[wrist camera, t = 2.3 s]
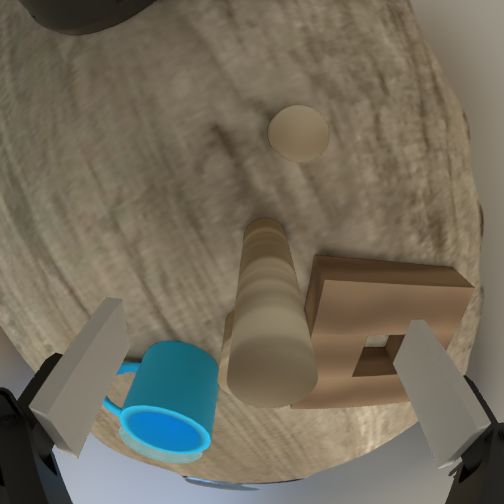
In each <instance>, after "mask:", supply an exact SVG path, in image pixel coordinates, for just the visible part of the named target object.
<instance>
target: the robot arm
mask: <svg viewBox="0 0 504 504" xmlns="http://www.w3.org/2000/svg"><path fill="white" fill-rule="evenodd" d="M18 1H19V2H20V3H21V4H22V5H23V6H24V7H25V8H26V9H27V10H28V11H29V13H30V15H31V16H32V17H33V19H34V20H35V21H36V22H37V23H38V24H40V25H41V26H43V27H45V28H47V29H50V30H53V31H56V32H59V33H62V34H68V35H82V34H88V33H93V32H96V31H100V30H103V29H106V28H108V27H111V26H113V25H115V24H117V23H120V22H122V21H124V20H125V19H127V18H129V17H131V16H133V15H134V14H136V13H137V12H139V11H141V10H142V9H144V8H145V7H147V6H148V5H149V4H151V3H152V2H153V1H155V0H18ZM129 349H130V343H129V337H128V332H127V327H126V321H125V315H124V309H123V303H122V299H117V298H110V297H107V298H106V299H105V300H104V301H103V303H102V304H101V305H100V307H99V308H98V309H97V310H96V312H95V313H94V314H93V315H92V317H91V318H90V319H89V321H88V322H87V323H86V325H85V326H84V327H83V329H82V330H81V331H80V333H79V334H78V335H77V337H76V338H75V339H74V341H73V342H72V343H71V345H70V346H69V348H68V349H67V350H66V352H65V353H64V355H62V354H59V353H55V354H53V355H52V356H50V357H49V358H47V359H46V360H45V362H44V363H43V364H42V366H41V367H40V370H38V371H37V373H36V374H35V375H34V376H35V377H33V378H32V380H31V381H30V383H29V384H28V386H27V387H26V388H25V390H24V391H23V393H22V394H21V396H20V397H19V399H18V400H16V399H15V397H14V395H13V394H12V393H11V392H10V391H9V390H8V389H6V388H2V387H1V388H0V504H73V503H72V501H71V498H70V496H69V494H68V491H67V489H66V486H65V484H64V481H63V479H62V476H61V473H60V471H59V468H58V465H57V462H56V459H55V456H54V454H53V452H52V448H53V446H54V444H55V445H56V446H57V448H58V449H59V450H60V452H63V453H65V454H68V455H70V456H72V457H75V458H78V457H79V454H80V452H81V450H82V448H83V445H84V443H85V441H86V438H87V436H88V434H89V432H90V429H91V427H92V425H93V423H94V421H95V418H96V416H97V414H98V412H99V410H100V408H101V405H102V403H103V401H104V399H105V397H106V395H107V393H108V391H109V389H110V387H111V385H112V382H113V380H114V378H115V376H116V374H117V372H118V370H119V368H120V366H121V364H122V362H123V360H124V358H125V357H126V355H127V353H128V351H129ZM393 365H394V367H395V369H396V372H397V374H398V376H399V378H400V380H401V382H402V384H403V386H404V389H405V391H406V393H407V395H408V397H409V399H410V402H411V404H412V406H413V408H414V411H415V413H416V415H417V418H418V420H419V422H420V424H421V427H422V429H423V432H424V434H425V436H426V439H427V441H428V444H429V446H430V449H431V451H432V454H433V456H434V459H435V462H436V464H437V467H438V469H439V468H442V467H445V466H448V465H451V464H453V463H454V462H455V461H456V460H457V459H458V458H459V457H460V456H461V458H462V460H463V461H462V462H461V463H460V464H459V465H457V467H455V468H454V469H453V470H452V471H451V472H450V474H449V476H451V475H452V474H453V473H455V472H456V471H457V472H456V475H455V476H454V481H453V484H452V487H451V490H450V492H449V495H448V498H447V500H446V503H445V504H504V423H498V422H497V420H496V418H495V417H494V415H493V413H492V411H491V410H490V408H489V406H488V405H487V403H486V401H485V400H484V399H483V397H482V395H481V394H480V392H479V390H478V389H477V387H476V386H475V384H474V382H473V381H471V380H470V379H469V378H468V377H467V376H466V375H464V376H463V375H462V374H461V372H460V371H459V369H458V368H457V366H456V365H455V363H454V362H453V360H452V359H451V357H450V356H449V354H448V353H447V351H446V350H445V349H444V347H443V346H442V344H441V343H440V341H439V340H438V339H437V337H436V336H435V334H434V333H433V332H432V330H431V329H430V327H429V326H428V325H427V323H426V322H425V321H424V320H411V323H410V325H409V328H408V330H407V332H406V335H405V337H404V339H403V342H402V344H401V346H400V349H399V351H398V353H397V355H396V357H395V360H394V362H393Z"/></svg>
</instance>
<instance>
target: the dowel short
mask: <svg viewBox="0 0 504 504" xmlns="http://www.w3.org/2000/svg"><path fill="white" fill-rule="evenodd" d="M267 136H268V140H269V142H270V144H271V145H272V147H273V148H274V149H275V150H276V151H277V152H278V153H279V154H280V155H281V156H282V157H284V158H285V159H287V160H289V161H292V162H297V163H304V162H309V161H312V160H314V159H316V158H317V157H319V156H320V155H321V154H322V153H323V152H324V150H325V149H326V147H327V145H328V141H329V128H328V125H327V122H326V121H325V119H324V117H323V116H322V115H321V114H320V113H319V112H318V111H316V110H315V109H313V108H311V107H308V106H304V105H294V106H290V107H287V108H285V109H283V110H282V111H280V112H279V113H278V114H277V115H276V116H275V117H273V119H272V120H271V121H270V123H269V125H268V129H267Z"/></svg>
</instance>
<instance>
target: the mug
mask: <svg viewBox="0 0 504 504" xmlns="http://www.w3.org/2000/svg"><path fill="white" fill-rule="evenodd" d="M218 371H219V368H218V366H217V364H216V363H215V361H214V359H213V358H212V357H210V356H209V355H208V354H207V353H206V352H205V351H203V350H201V349H199V348H197V347H196V346H194V345H191V344H187V343H184V342H179V341H165V342H160V343H156V344H155V345H153V346H151V347H150V348H149V349H148V350H147V352H146V353H145V355H144V357H143V359H142V362H141V363H122V364H121V366H120V368H119V370H118V372H117V374H116V375H119V374H123V373H126V372H137V373H136V376H135V378H134V380H133V383H132V385H131V388H130V390H129V392H128V395H127V397H126V400H125V402H124V405H123V407H122V408H120V407H118V406H117V405H115V404H114V403H112V402H111V401H110V400H109V398H108V397H107V396H106V397H105V399H104V401H103V405H104V406H105V407H106V408H107V409H108V410H110V411H111V412H112V413H114V414H115V415H116V416H119V417H120V423H121V425H122V427H123V428H124V430H125V431H126V432H127V433H128V434H129V435H131V436H132V437H133V438H134V439H136V440H138V441H139V442H141V443H142V444H144V445H147V446H149V447H151V448H153V449H156V450H160V451H163V452H167V453H174V454H194V453H198V452H202V451H203V450H205V449H206V448H208V447H209V445H210V442H211V438H212V430H213V423H214V415H215V408H216V400H217V393H218V386H219V385H218V382H217V377H218Z"/></svg>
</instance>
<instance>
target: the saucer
mask: <svg viewBox="0 0 504 504" xmlns="http://www.w3.org/2000/svg"><path fill="white" fill-rule="evenodd" d="M119 434H120V437H121V439H122V440H123V441H124V442H125V443H126V444H127V445H128V446H129V447H131V448H132V449H133V450H135V451H137V452H139V453H141V454H143V455H145V456H147V457H150V458H153V459H156V460H160V461H164V462H170V463H189V462H193V461H195V460H197V459H199V458H200V457H201V456H202V453H203V451H202V452H198V453H194V454H174V453H167V452H163V451H160V450H156V449H153V448H151V447H149V446H147V445H144V444H142V443H141V442H139V441H138V440H136V439H134V438H133V437H132V436H131V435H129V434H128V433H127V432H126V431H125V430H124V428H123V427H122V426H121V427H120V429H119Z"/></svg>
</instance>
